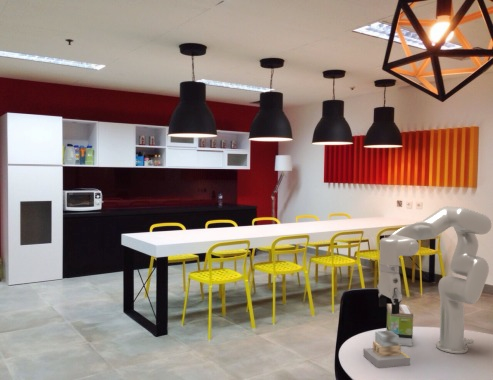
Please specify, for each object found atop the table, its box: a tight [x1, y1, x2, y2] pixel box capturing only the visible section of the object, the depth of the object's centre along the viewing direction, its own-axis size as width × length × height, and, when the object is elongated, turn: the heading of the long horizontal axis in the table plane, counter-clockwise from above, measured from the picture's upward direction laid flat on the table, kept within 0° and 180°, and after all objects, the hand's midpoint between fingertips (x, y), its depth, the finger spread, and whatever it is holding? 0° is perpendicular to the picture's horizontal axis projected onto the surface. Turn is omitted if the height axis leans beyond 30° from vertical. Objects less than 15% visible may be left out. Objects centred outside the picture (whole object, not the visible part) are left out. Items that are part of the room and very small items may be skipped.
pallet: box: [372, 330, 402, 357], centre depth 179 cm, size 9×6×8 cm, turn 102°
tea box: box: [385, 303, 414, 347], centre depth 203 cm, size 15×10×15 cm, turn 168°
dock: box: [362, 347, 411, 369], centre depth 180 cm, size 14×12×3 cm
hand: (388, 310), depth 180 cm, fingers open, 9 cm apart
